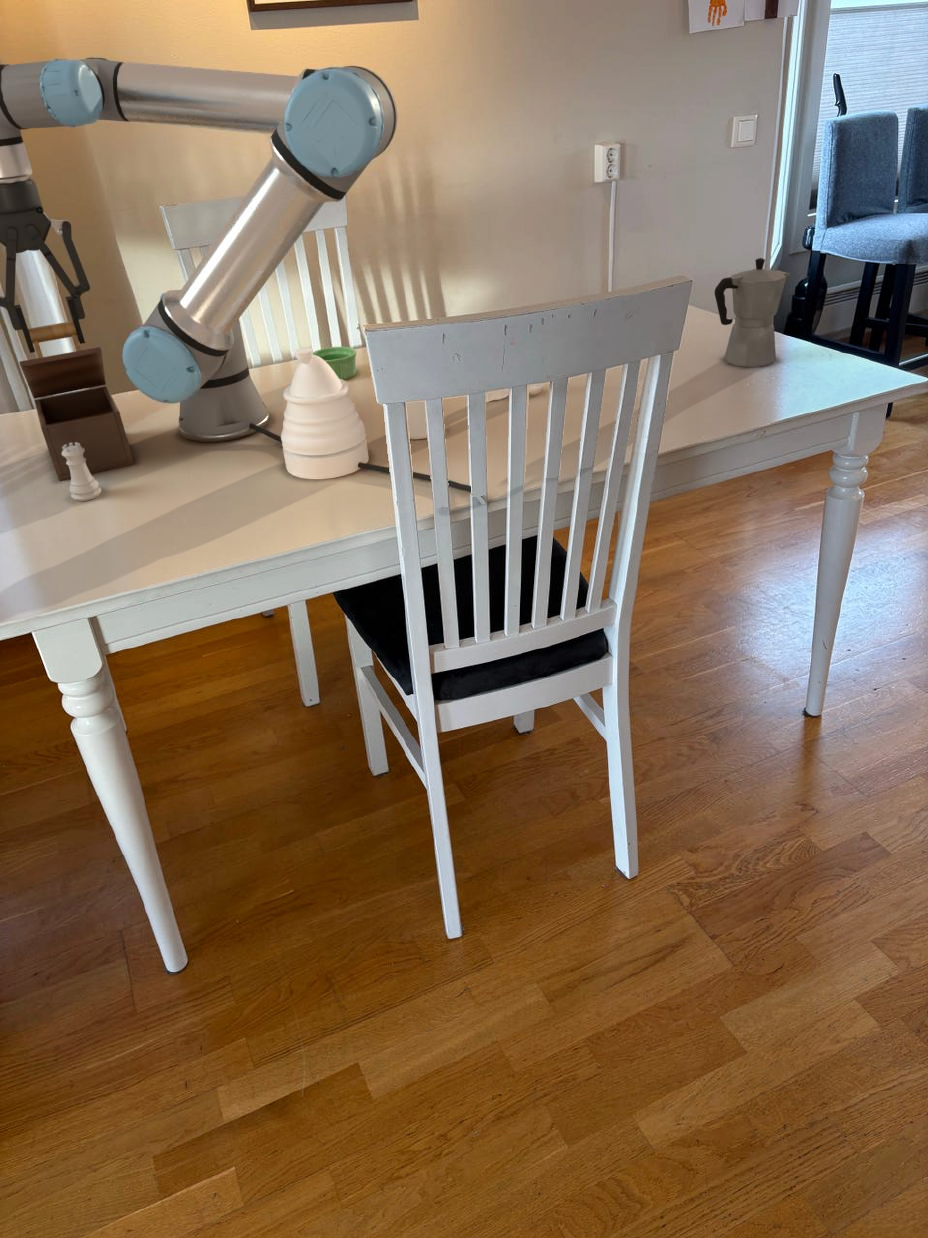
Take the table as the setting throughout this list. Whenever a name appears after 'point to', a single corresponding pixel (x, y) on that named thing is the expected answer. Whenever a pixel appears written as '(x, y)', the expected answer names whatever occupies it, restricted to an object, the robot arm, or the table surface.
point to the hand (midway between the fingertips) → (57, 345)
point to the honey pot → (321, 423)
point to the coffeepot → (751, 314)
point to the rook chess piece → (80, 474)
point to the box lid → (62, 364)
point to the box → (84, 429)
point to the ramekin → (339, 360)
